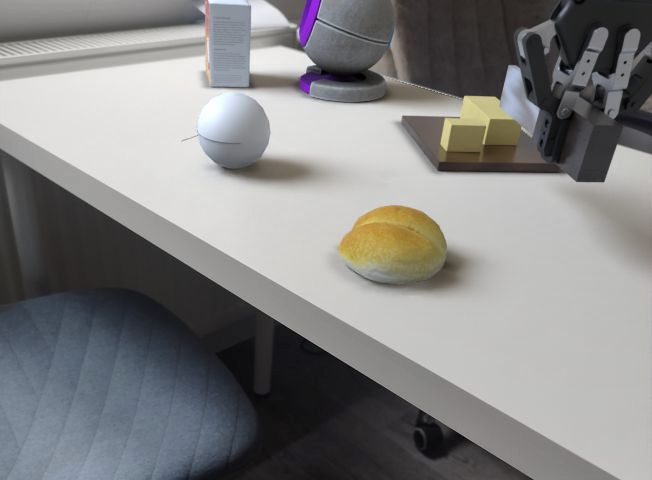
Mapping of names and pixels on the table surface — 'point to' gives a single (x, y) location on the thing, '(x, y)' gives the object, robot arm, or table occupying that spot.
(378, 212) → the bread roll
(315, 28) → the webcam
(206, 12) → the small box
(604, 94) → the robot arm
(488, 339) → the table surface
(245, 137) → the seamed sphere
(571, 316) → the table surface
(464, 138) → the butter pat
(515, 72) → the knife
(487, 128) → the butter
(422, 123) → the board
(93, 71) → the table surface
